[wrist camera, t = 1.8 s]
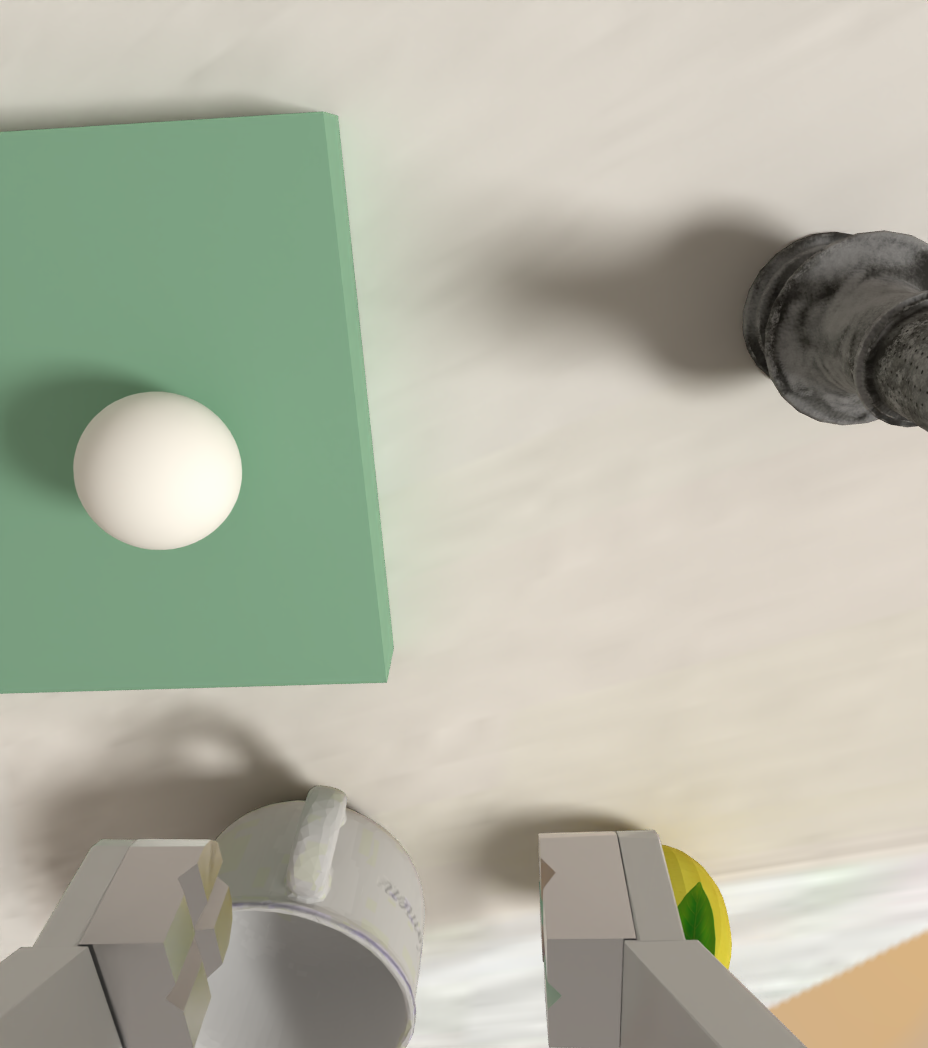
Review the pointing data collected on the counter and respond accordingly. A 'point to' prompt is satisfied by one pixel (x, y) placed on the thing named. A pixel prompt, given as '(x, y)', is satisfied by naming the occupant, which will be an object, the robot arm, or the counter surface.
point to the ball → (157, 470)
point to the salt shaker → (845, 327)
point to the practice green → (202, 375)
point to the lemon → (699, 904)
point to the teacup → (316, 931)
